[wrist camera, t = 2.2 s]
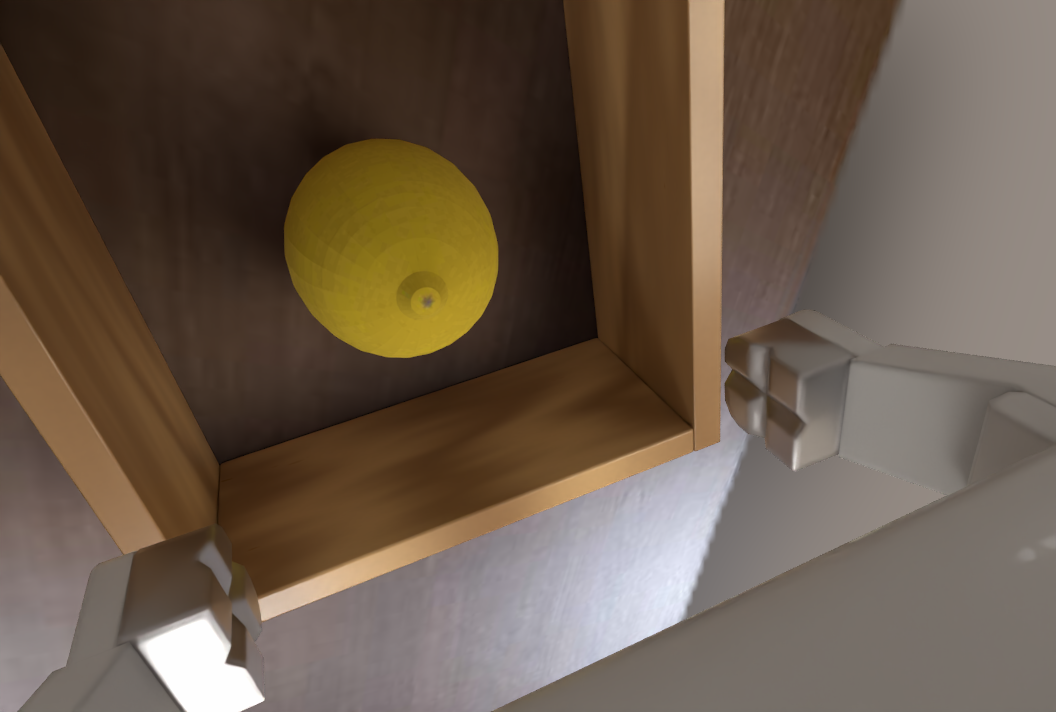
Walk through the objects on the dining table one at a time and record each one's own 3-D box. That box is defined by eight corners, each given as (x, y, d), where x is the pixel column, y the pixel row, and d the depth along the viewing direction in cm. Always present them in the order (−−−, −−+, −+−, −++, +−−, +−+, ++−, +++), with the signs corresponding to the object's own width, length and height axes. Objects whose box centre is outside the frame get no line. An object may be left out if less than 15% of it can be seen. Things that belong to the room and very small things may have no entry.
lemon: (415, 307, 23) (484, 427, 17) (253, 258, 21) (260, 379, 14) (477, 159, 22) (580, 230, 15) (310, 85, 19) (349, 132, 13)
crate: (578, -154, 19) (727, -218, 13) (621, 349, 28) (720, 442, 22) (-106, -60, 15) (-324, -94, 9) (200, 493, 24) (189, 653, 18)
